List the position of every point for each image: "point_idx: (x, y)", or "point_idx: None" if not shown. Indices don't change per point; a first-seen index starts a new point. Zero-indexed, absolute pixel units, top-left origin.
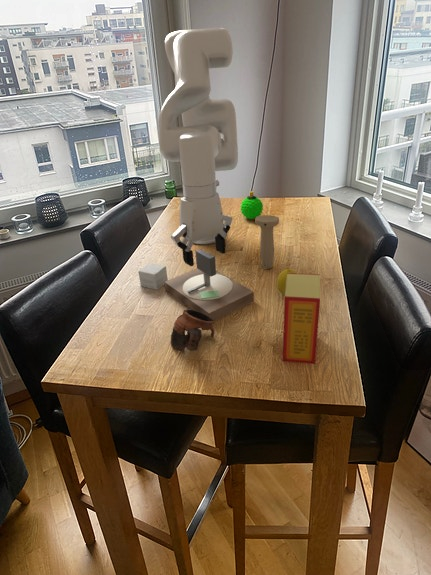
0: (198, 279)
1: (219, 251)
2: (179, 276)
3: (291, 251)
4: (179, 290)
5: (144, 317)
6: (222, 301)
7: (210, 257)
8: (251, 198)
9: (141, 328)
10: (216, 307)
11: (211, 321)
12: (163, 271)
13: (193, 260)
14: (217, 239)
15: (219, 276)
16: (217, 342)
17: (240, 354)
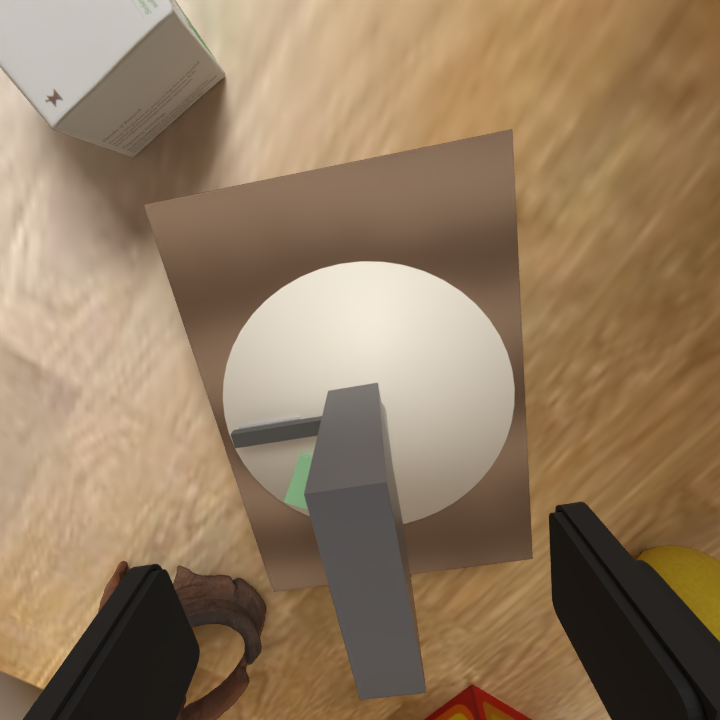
0: (355, 315)
1: (554, 566)
2: (261, 193)
3: None
4: (208, 362)
5: (36, 382)
6: None
7: (379, 686)
8: None
9: (18, 447)
10: (319, 574)
11: (235, 695)
12: (153, 63)
13: (177, 713)
14: (659, 717)
15: (483, 354)
16: (265, 630)
17: (303, 691)
